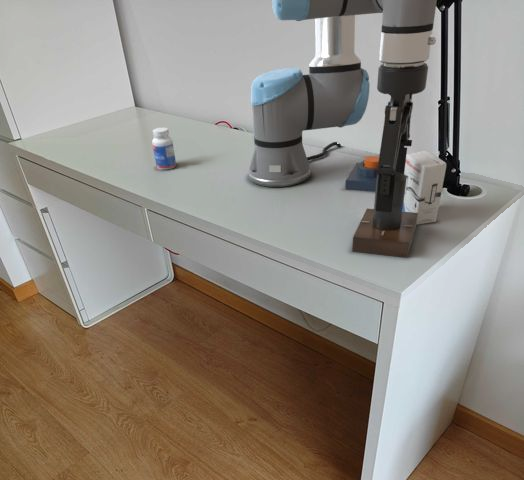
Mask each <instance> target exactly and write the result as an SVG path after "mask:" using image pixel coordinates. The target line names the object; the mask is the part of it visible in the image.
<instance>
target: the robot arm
mask: <svg viewBox="0 0 524 480" xmlns="http://www.w3.org/2000/svg"><path fill="white" fill-rule="evenodd" d="M437 2H438V0H271V7H272V12H273V15H274V16H275V18H276V19H277V20H279V21H296V22H302V21H307V20H314V28H315V29H314V31H315V32H314V33H315V55H314V58H312V60H311V61H310V63H309V64H308V72H309V73H308V74H303V71H302V70H301V68H299V67H288V68H287V67H283V68H279V69H274V70H271V71H267V72H264V73H262V74H260V75H258V76H257V77H255V78H254V79H253V81H252V82H251V86H250V105H251V111H252V113H251V114H252V127H253V128H252V129H253V143H254V144H253V150H252V155H251V159H250V162H249V163H250V164H249V167H248V177H249V181H250V182H252V184H255V185H258V186H261V187H267V188H282V187H292V186H296V185H298V184H302V183H304V182H305V181H307V180H308V179H309V178H310V176H311V167H310V164H309V163H310V162H309V161H313V160H316V159H320V158H322V157H324V156H326V154H327V151H328V150H329V149H331V148H333V147H335V146H336V147H338V148H341V147H342V144H341V143H339V142H338V141H333V142H331V143H329V144H328V145H326V146H324V147H323V149H322V151H321V152H320V153H318V154H314V155H310V156H307V154H306V151H305V148H304V145H303V131H304V132H305V131H313V130H322V129H329V128H341V129H342V128H344V127H348V126H353V125H356V124H358V123H359V122H361V120H362V118H363V117H364V115H365V113H366V110H367V107H368V102H369V98H370V87H371V86H370V81H369V80H370V75H369V73H368V71H367V70H366V69H364V68H363V67H362V60H361V59H360V58H359V57H358V55H357V54H356V52H355V39H356V37H355V35H356V33H355V32H356V16H361V15H371V14H372V15H373V14H382V21H381V29H380V30H381V31H380V39H379V40H380V41H379V53H378V54H379V55H378V61H379V62H380V63H382V64H380V65H379V67H378V71H377V85H376V88H377V91H378V92H379V93H381V94H383V95H389V96H390V99H389V101H388V102H387V105H385V108H384V119H383V120H384V122H383V130H382V135H381V143H380V149H379V156H378V157H379V162H378V168H377V169H374V174H379V175H378V187H377V199H376V211H380V212H392V207H393V197H394V188H395V179H396V173H395V172H399V173H402V174H404V172H405V163H406V155H407V154H408V147H412V145H413V140H412V139H410V137H411V133H410V131H411V119H412V112H413V107H414V102H413V95H417V94H419V93H422V92H423V91H424V90H426V88H427V79H428V72H429V65H428V63H426V62H427V61H428V60H429V59H430V55H431V54H430V53H431V46H433V45H435V44H436V41H437V39H436V37H435V36H432V35H433V30H434V24H435V17H436V16H435V15H436V9H437ZM337 142H338V143H339V144H337ZM384 165H389V166H390V167H387V166H384Z"/></svg>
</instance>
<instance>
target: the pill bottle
mask: <svg viewBox="0 0 524 480" xmlns="http://www.w3.org/2000/svg"><path fill="white" fill-rule="evenodd" d="M152 135H153V139H152V140H151V144H152V151H153V155H154V160H155V161H154V162H155V166H156V168H157V169H158V170H161V171H167V170H171V169H174V168H176V166H177V161H176V154H175V148H174V142H173V138H172V137H171V136H169V135H170V132H169V128H168V127H156V128H154V129H152Z"/></svg>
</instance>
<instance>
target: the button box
mask: <svg viewBox="0 0 524 480" xmlns="http://www.w3.org/2000/svg"><path fill="white" fill-rule="evenodd" d="M364 163H365V160H363V161H360V162H356V163H355V165H354V166H353V168H352V170H351V171H350V173H349V175H348V176H347V178H346V179H345V190H351V191H361V192H362V191H363V192H373V193H375V190H376V179H377V175H378V174H374V169H377V168H367V167H364ZM384 166H387V167H390V166H389V165H384Z"/></svg>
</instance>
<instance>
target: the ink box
mask: <svg viewBox="0 0 524 480" xmlns="http://www.w3.org/2000/svg"><path fill="white" fill-rule="evenodd" d="M446 170H447V162H445V161H444V160H442V159H441V158H439V157H438V156H436V155H435V154H434V153H432V152H430V151H429V150H422V151H417V152H410V153H407V155H406V163H405V172H404V174H405V175H406V177H407V179H406V187H405V195H404V203H403V211H402V212H413V213H418V216H417V223H416V226H418V225H423V224H429V223H436V222H437V219H438V213H439V209H440V208H439V207H440V203H441V202H440V201H441V198H442V197H441V196H442V191H443V186H444V181H445V176H446Z"/></svg>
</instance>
